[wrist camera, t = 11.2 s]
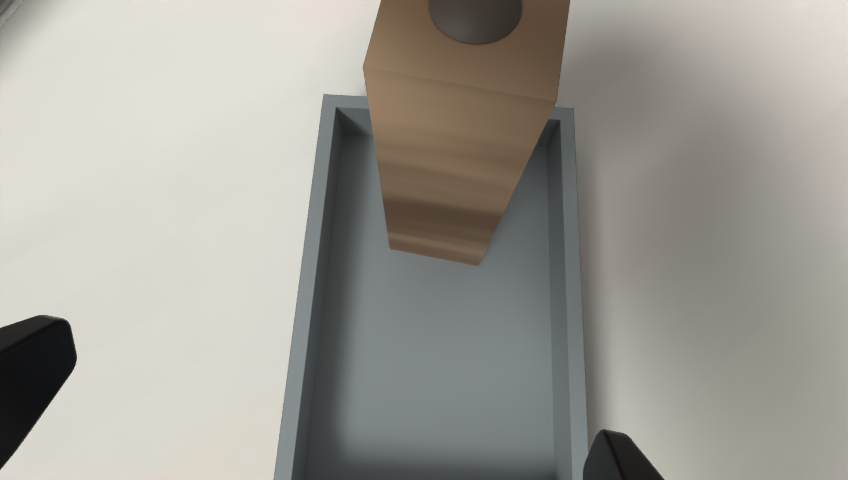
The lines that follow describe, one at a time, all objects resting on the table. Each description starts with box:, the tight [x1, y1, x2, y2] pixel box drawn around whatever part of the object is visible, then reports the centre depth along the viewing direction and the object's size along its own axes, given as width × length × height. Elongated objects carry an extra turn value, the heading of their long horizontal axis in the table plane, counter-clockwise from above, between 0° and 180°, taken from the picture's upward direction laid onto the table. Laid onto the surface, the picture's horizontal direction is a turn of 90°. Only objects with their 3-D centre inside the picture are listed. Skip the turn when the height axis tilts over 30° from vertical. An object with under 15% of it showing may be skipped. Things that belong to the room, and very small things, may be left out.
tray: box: [274, 94, 588, 480], centre depth 21 cm, size 17×11×3 cm, turn 177°
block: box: [363, 0, 570, 266], centre depth 17 cm, size 4×4×13 cm
